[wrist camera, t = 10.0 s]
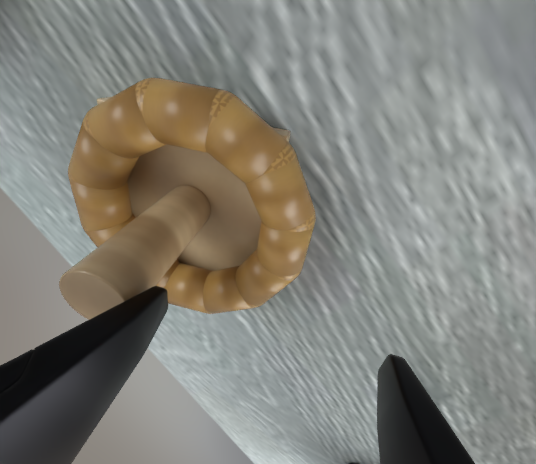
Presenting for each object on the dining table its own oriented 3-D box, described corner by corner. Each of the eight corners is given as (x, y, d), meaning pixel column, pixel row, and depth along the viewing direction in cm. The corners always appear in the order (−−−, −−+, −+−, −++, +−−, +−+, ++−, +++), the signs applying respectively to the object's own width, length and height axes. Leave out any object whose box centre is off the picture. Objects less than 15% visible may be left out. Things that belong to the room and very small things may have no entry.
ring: (289, 310, 17) (283, 342, 15) (116, 266, 18) (89, 291, 16) (343, 108, 11) (347, 117, 9) (72, 58, 12) (18, 56, 10)
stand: (264, 274, 17) (222, 409, 11) (135, 242, 18) (17, 349, 11) (291, 130, 13) (244, 206, 6) (113, 96, 13) (-115, 126, 7)
